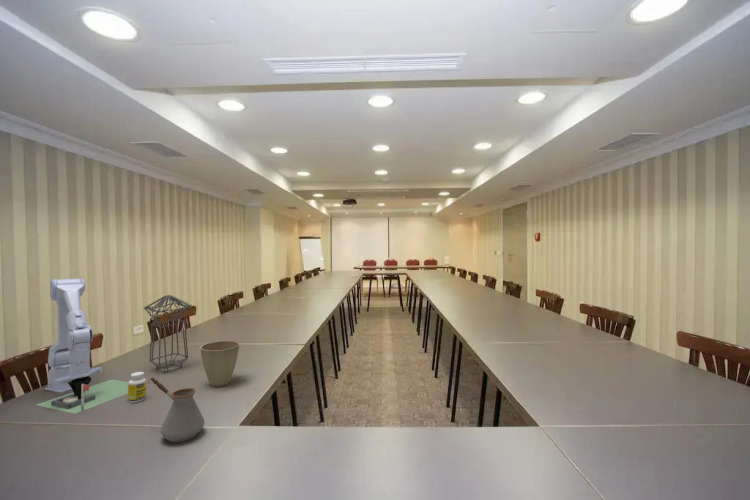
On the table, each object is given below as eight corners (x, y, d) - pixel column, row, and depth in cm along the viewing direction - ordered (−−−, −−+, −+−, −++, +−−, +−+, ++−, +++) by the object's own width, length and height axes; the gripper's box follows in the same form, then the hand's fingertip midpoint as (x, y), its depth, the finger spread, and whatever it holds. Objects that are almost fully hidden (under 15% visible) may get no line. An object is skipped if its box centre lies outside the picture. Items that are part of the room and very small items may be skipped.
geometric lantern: (194, 367, 164) (193, 294, 163) (159, 378, 150) (158, 298, 150) (176, 361, 172) (176, 291, 171) (142, 371, 159) (141, 295, 158)
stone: (60, 405, 121) (60, 399, 121) (72, 400, 125) (72, 395, 125) (67, 407, 120) (67, 401, 120) (80, 402, 124) (80, 396, 124)
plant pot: (191, 387, 139) (192, 347, 139) (220, 375, 153) (221, 339, 153) (219, 392, 134) (219, 351, 134) (246, 379, 147) (247, 342, 148)
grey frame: (51, 405, 121) (51, 380, 121) (78, 396, 129) (78, 372, 130) (85, 412, 116) (85, 386, 116) (111, 402, 124) (111, 377, 124)
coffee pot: (212, 430, 105) (213, 381, 105) (177, 450, 95) (178, 395, 95) (167, 416, 114) (168, 371, 114) (130, 432, 104) (131, 383, 104)
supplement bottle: (136, 403, 124) (136, 376, 124) (124, 402, 125) (124, 375, 125) (149, 397, 129) (149, 371, 129) (137, 396, 130) (137, 370, 130)
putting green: (35, 405, 122) (35, 404, 122) (111, 380, 147) (111, 379, 147) (75, 414, 115) (75, 413, 115) (147, 386, 140) (147, 385, 140)
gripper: (63, 368, 118) (63, 408, 118) (108, 356, 131) (107, 392, 131) (50, 366, 120) (49, 405, 120) (95, 354, 134) (95, 389, 134)
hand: (79, 398), depth 126 cm, fingers closed
